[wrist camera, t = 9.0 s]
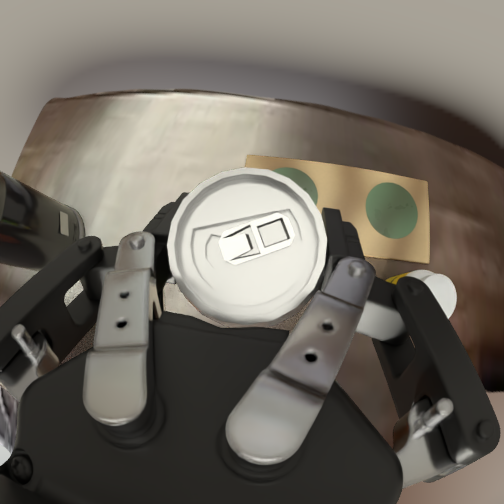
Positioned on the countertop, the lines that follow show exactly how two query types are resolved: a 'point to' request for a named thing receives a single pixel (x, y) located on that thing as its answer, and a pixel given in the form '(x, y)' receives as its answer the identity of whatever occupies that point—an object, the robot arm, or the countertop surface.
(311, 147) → the countertop surface
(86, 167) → the countertop surface
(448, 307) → the supplement bottle
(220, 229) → the beer can
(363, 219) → the board
